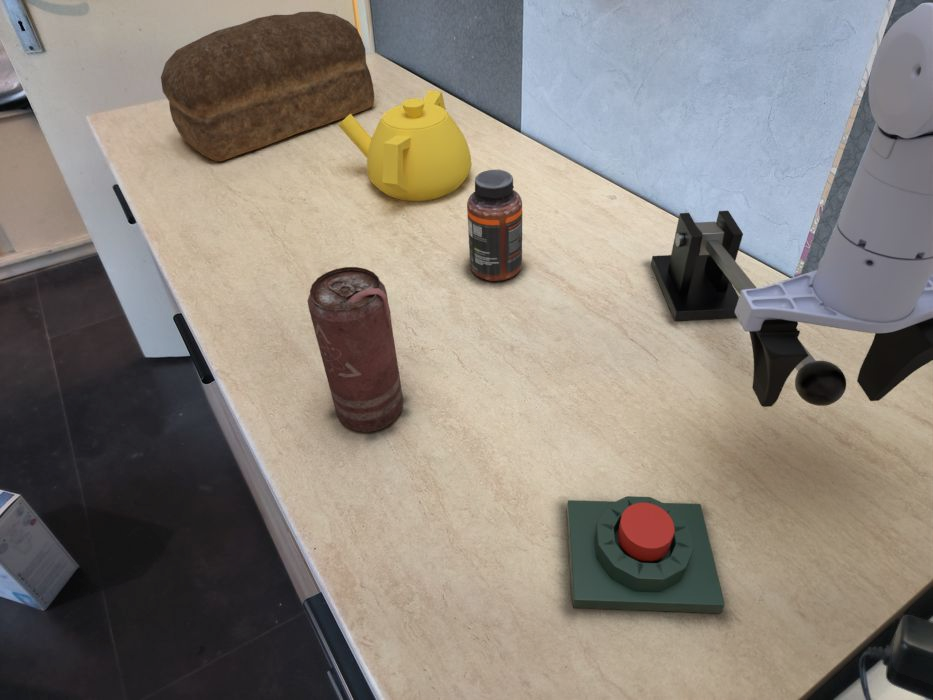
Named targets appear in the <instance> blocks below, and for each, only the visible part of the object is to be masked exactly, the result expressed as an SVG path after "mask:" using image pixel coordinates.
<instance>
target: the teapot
mask: <svg viewBox="0 0 933 700" xmlns="http://www.w3.org/2000/svg"><path fill="white" fill-rule="evenodd" d="M337 126H338V127H339V129H341V130H342V132H343V133H344V134H345V135H346V136H347V137H348V138H349V139H350V141H351V142H352V143H353V144H354V146H356V147H357V148H358V150H359V151H360V152H361V153H362V154H363V156H364V157H365V158H366V172H367V176H368V178H369V181H371V183H372V184H373V185H374V186H375V187H376V188H378V190H380V191H381V192H382V193H384V194H385V195H386V196H389V197H391V198H392V199H393V198H394V199H395V200H396V199H397V200H400V201H406V202H407V201H408V202H425V201H430V200H437V199H439V198H440V199H441V198H442V197H446V196H448V195H450V194H451V193H453V192H454V191H456V190H457V189H458V188H459V187H460V186H461V185H462V184H463V183H464V182H465V180H466V179H467V178H468V176H469V174H470V172H471V170H472V166H473V165H472V156H471V150H470V148H469V145H468V142H467V139H466V138H465V135H464V133H463V132H462V130H461V129H460V127H459V125H458V124H457V123H456V121H455V120H454V119H453V117H452V116H451V114H450V113H449V112H447V110H446V105H445V99H444V96H443V92H442V91H441V90H431V89H429V90H428V91H427V92H426V94H425V95H424V97H423V99H422V98H417V97H412V98H407V99H405V100H403V101H402V103H401V104H399V105H396V106H394V107H391V108H390V109H388V110H386V112H385V113H383V115H382V116H381V118H380V119H379V122H378V123H377V125H376V127H375V130H374V132H373V134H372V136H370V134H369V133H368V132H367V131H366V129H364V127H363V126H362V125H361V124H360V122H359V121H358V120H357V119H356V118H355V117H354V115H351V114H350V115H348V116H347V117H344V118H343V120H341V121H340V122H339V123H338V124H337Z"/></svg>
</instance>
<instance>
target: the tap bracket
mask: <svg viewBox="0 0 933 700" xmlns="http://www.w3.org/2000/svg"><path fill="white" fill-rule="evenodd" d="M715 222H716V223H717V225H718V226H719V227H720V228H721V229H722V231H723V232H724V238H723V243H722V246H723V247H724V248H725V249H726V251H727V252H728V253H729V254H730V255H731V257H732V258H733V259H734V260H735V262H737V257H738V254H739V250H740V247H741V243H742V240H743V236H744V232H743V231H742V230H741V228H740V227H739V225H738V223H737V222H736V220H735V218H734V217H733V215H732V213H731V212H730V211H729V210H718V213H717V217H716V221H715ZM695 223H696V222H695V221H694V219H693V216H692V215H691V213H690V212H679V215H678V219H677V225H676V228H675V234H674V239H673V244H672V249H671V254H667V255H666V254H665V255H652V257H651V262H650V266H651V268H652V271H653V273H654V276H655V277H656V280H657V283H658V285H659V287H660V289H661V292H662V294H663V296H664V297H663V298H664V299H665V301H666V304H667V306H668V308H669V311H670V313H671V315H672V318H673V320H674V321H675V322H681V321H698V320H714V319H716V320H717V319H735V318H737V316H736V314H735V309H736V306H737V302H738V299H739V296H740V295H739V293H738V291H737V290H736V289H735V287H734V286H733V285H732V283H731V282H730V281H729V279H728V278H727V277H726V275H725V274H724V273H723V271H722V270H721V269H720V268H719V266H718V265H717V264H716V262H715V261H714V260H713V258H712V257H711V256H710V255H701V256H699V255H698V251H699V246H700V242H701V238H702V235H701V233H700V232H699V230H698V228H697V226H696V224H695Z"/></svg>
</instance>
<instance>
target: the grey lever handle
mask: <svg viewBox="0 0 933 700" xmlns="http://www.w3.org/2000/svg"><path fill="white" fill-rule="evenodd" d="M694 223H695V224H696V226H697V228H698V230H699V232H700V233H701V235H702V238H701V242H700V246H699V251H698V255H699V256H701V255H710V256H711V257H712V258H713V260H714V261H715V262H716V264H717V265H718V266H719V268H720V269H721V270H722V271H723V273H724V274H725V275H726V277H727V278H728V279H729V281H730V282H731V284H732V285H733V287H734V289H735V291H736V292H737V294H738V295H740V293H741V290H743V289H754V288H757V286H756V285H755V283H754V282H753V281H752V280H751V279H750V277H748V275H747V274H746V272H745V271H744V270H743V268H742V267H741V266H740V265H739V264H738V262H737V261H735V260H734V259H733V258H732V257H731V255H730V254H729V253H728V252H727V251H726V249H725V248H724V247H723V246H722V243H723V238H724V232H723V231H722V229H721V228H720V227H719V226H718V225H717V223H716V221H701V222H694ZM801 344H802V346H803V347H804V349H805V350H806V352H807V354H808V355H809V356H808V357H806V358H805V359H804V360H803V361H801V362H800V363H799V364H798V365H797V366H796V367H795V370H796V371H797V373H796V375H795V378H794V387H795V391H796V393H797V394H798V396H799V397H800V398H801V399H802V400H803V401H804V402H806V403H808V404H810V405H813V406H817V407H824V406H830V405H832V404H835V403H836V402H837V401H838V400H840V399H841V398H843V395H844V394H845V392H846V389H847V379H846V375H845V373H844V372H843V370H842V369H841V368H840V367H839V366H837V365H836V364H835V363H832V362H830V361H827V360H826V361H825V360H816V359H815V358H814V357H813V355H812V354H811V353H810V351H809V350H808V349H807V348H806V347H805V345H804V344H803V343H802V342H801Z"/></svg>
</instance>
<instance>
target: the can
mask: <svg viewBox="0 0 933 700" xmlns="http://www.w3.org/2000/svg"><path fill="white" fill-rule="evenodd" d="M307 306H308V307H307V308H308V311H309V314H310V319H311V322H312V326H313V330H314V334H315V338H316V341H317V345H318V350H319V353H320V357H321V360H322V363H323V364H322V365H323V369H324V373H325V376H326V379H327V384H328V386H329V391H330V394H331V395H330V396H331V399H332V403H333V406H334V410H335V414H336V417H337V418H338V420H339V421H340V422H341V423H342V424H343V425H344V426H346V427H347V428H349V429H350V430H352V431H353V430H354V431H357V432H361V433H366V432H368V433H369V432H370V433H371V432H376V431H380V430H383V429H384V428H386V427H388V426H390V425H391V424H392V423H393V422H394V421H396V420H397V418H398V417H399V415H400V414H401V412H402V410H403V405H404V396H403V389H402V383H401V382H402V381H401V377H400V370H399V363H398V356H397V350H396V344H395V343H396V342H395V337H394V332H393V324H392V317H391V309H390V305H389V298H388V292H387V288H386V286H385V284H384V283H383V282H382V280H380V278H379V276H378V275H377V274H376V273H375V272H374V271H372V270H369V269H367V268H364V267H360V266H344V267H339V268H335V269H332V270H329V271H326V272H325V273H323V274H322V275H320V276H319V277H317V278H316V279H315V280H314V281H313V283H312V284H311V286H310V290H309V295H308V298H307Z"/></svg>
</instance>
